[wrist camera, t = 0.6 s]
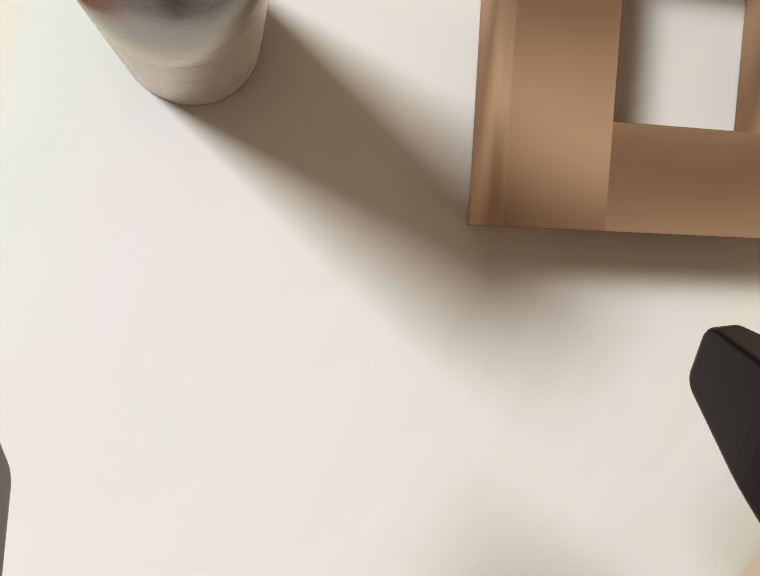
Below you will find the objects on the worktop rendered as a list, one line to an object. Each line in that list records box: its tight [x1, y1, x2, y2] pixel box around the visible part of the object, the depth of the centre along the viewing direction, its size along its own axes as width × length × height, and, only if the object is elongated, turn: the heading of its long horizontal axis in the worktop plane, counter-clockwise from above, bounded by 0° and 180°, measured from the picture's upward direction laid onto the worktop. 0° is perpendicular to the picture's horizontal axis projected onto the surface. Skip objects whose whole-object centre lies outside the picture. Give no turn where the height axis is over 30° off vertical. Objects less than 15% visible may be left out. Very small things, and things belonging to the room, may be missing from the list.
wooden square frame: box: [468, 0, 760, 238], centre depth 22 cm, size 12×12×3 cm
